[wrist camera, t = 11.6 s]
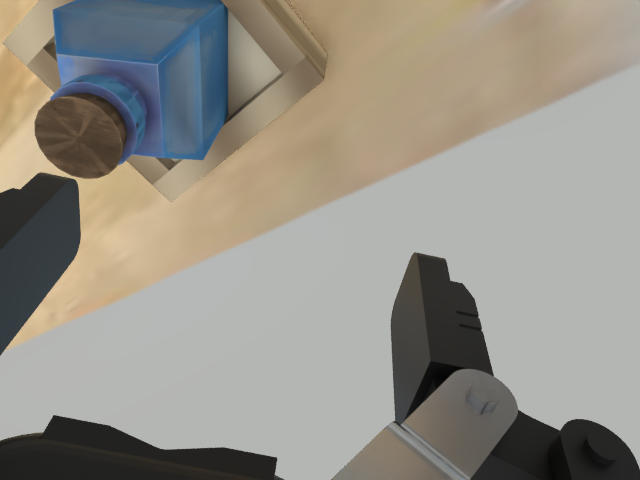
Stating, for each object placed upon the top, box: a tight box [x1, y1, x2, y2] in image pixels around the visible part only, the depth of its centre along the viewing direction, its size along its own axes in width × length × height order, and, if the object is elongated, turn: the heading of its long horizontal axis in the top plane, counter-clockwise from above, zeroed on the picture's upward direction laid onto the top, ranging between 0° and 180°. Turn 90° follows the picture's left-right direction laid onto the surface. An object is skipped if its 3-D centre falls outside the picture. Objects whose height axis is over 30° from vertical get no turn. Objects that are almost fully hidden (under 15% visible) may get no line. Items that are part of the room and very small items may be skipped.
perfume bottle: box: [35, 0, 228, 179], centre depth 25 cm, size 6×6×12 cm
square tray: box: [3, 0, 328, 202], centre depth 31 cm, size 12×12×5 cm
